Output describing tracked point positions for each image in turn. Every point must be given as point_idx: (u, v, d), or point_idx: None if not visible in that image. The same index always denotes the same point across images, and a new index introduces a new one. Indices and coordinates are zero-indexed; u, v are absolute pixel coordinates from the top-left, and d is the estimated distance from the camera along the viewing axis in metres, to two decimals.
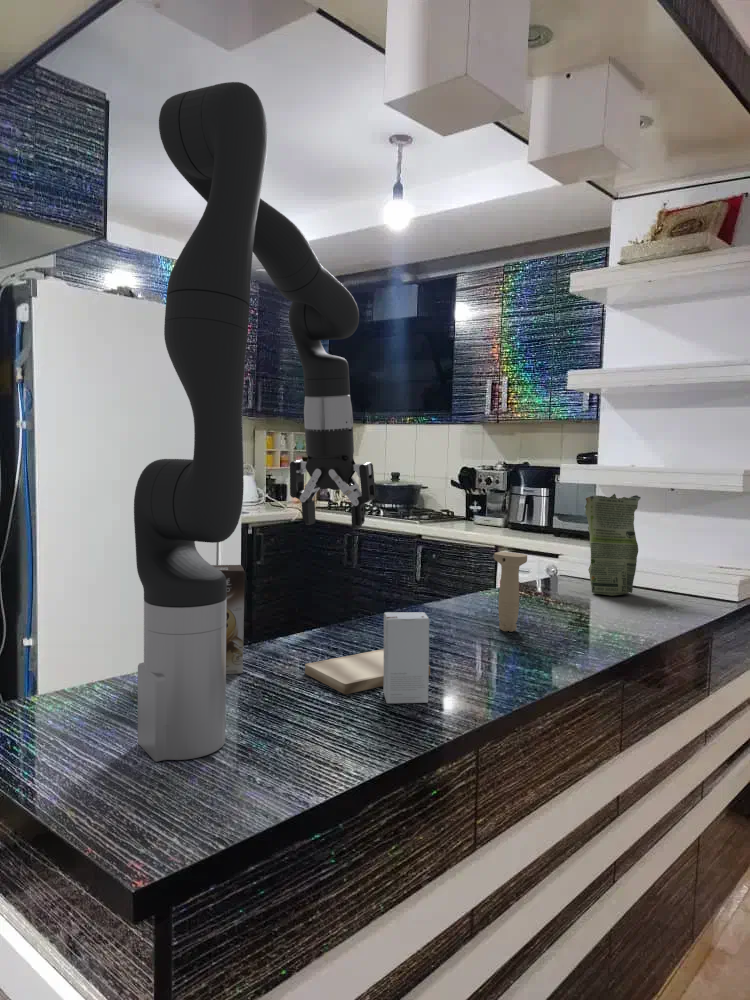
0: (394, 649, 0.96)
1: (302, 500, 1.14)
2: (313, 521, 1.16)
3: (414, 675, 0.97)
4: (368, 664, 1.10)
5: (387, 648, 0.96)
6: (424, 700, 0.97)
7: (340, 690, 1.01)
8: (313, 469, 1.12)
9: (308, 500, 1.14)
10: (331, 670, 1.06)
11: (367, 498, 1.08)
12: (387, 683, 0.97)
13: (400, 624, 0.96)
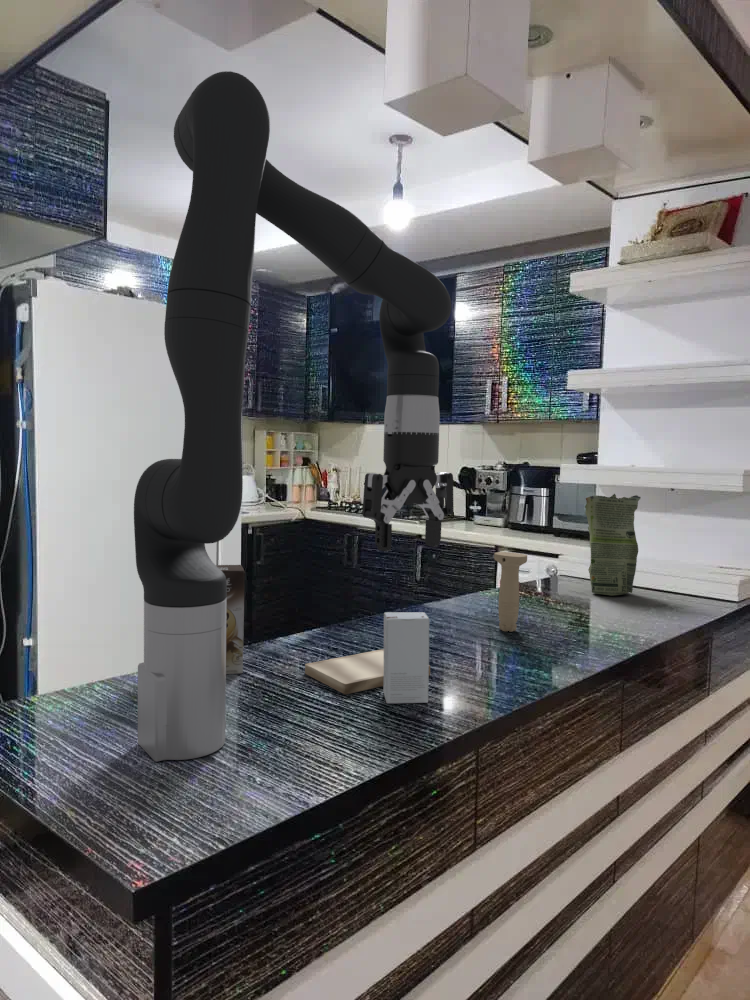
0: (394, 649, 0.96)
1: None
2: (432, 544, 0.99)
3: (414, 675, 0.97)
4: (368, 664, 1.10)
5: (387, 648, 0.96)
6: (424, 700, 0.97)
7: (340, 690, 1.01)
8: None
9: (429, 517, 1.00)
10: (331, 670, 1.06)
11: None
12: (387, 683, 0.97)
13: (400, 624, 0.96)
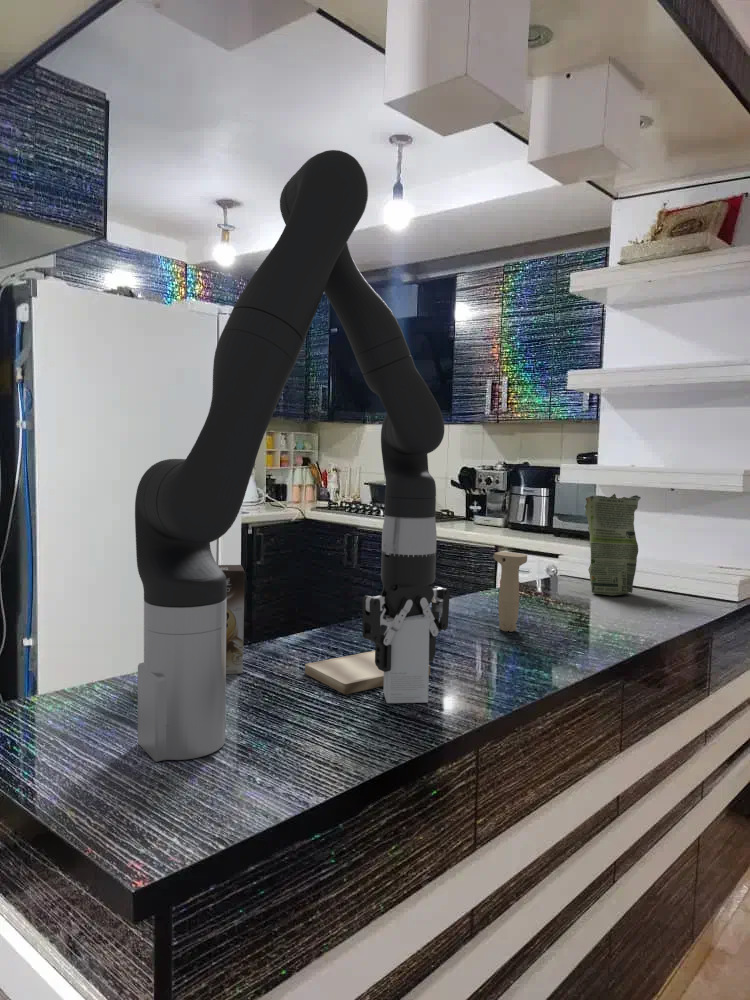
0: (395, 649, 0.96)
1: None
2: None
3: (414, 675, 0.97)
4: (368, 664, 1.10)
5: None
6: (424, 700, 0.97)
7: (340, 690, 1.01)
8: None
9: None
10: (331, 670, 1.06)
11: None
12: (387, 683, 0.97)
13: None
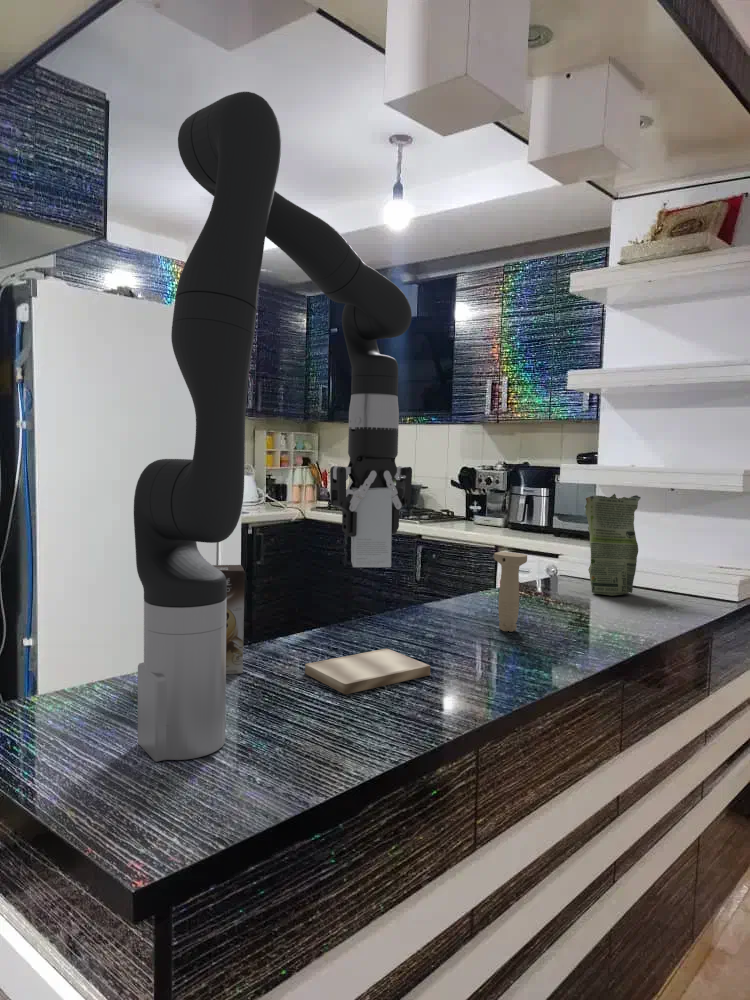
0: (360, 516, 1.05)
1: None
2: None
3: (378, 541, 1.06)
4: (368, 664, 1.10)
5: None
6: (387, 565, 1.06)
7: (340, 690, 1.01)
8: None
9: None
10: (331, 670, 1.06)
11: None
12: (353, 548, 1.06)
13: None
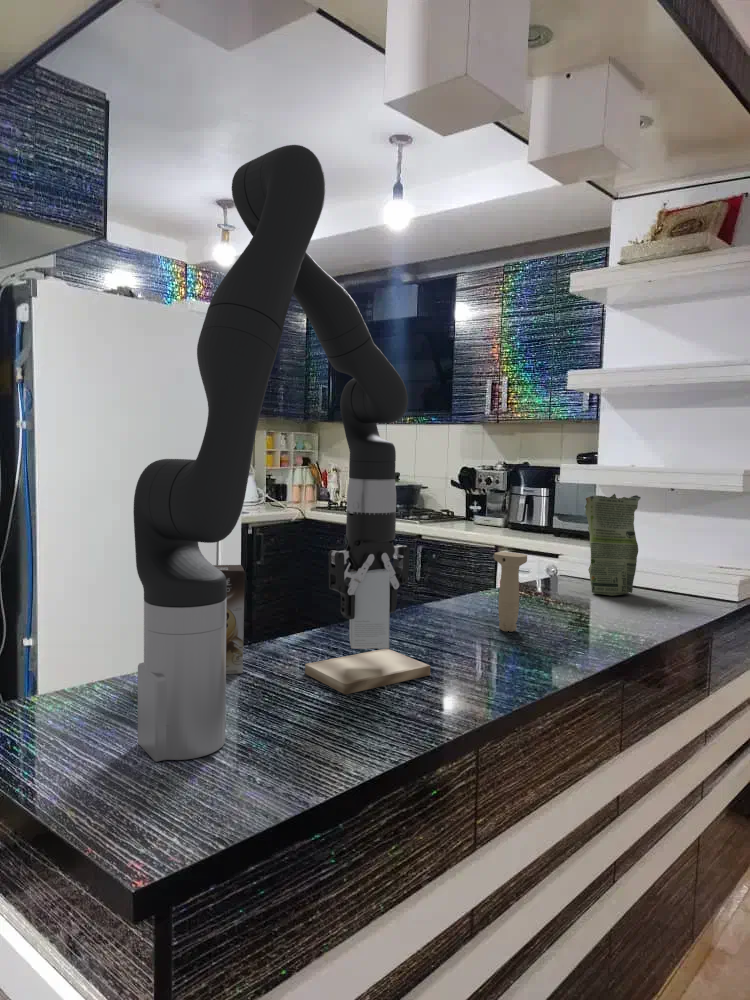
0: (358, 599, 1.06)
1: None
2: (389, 611, 1.11)
3: (376, 623, 1.07)
4: (368, 664, 1.10)
5: None
6: (385, 646, 1.08)
7: (340, 690, 1.01)
8: None
9: None
10: (331, 670, 1.06)
11: None
12: (351, 630, 1.07)
13: None
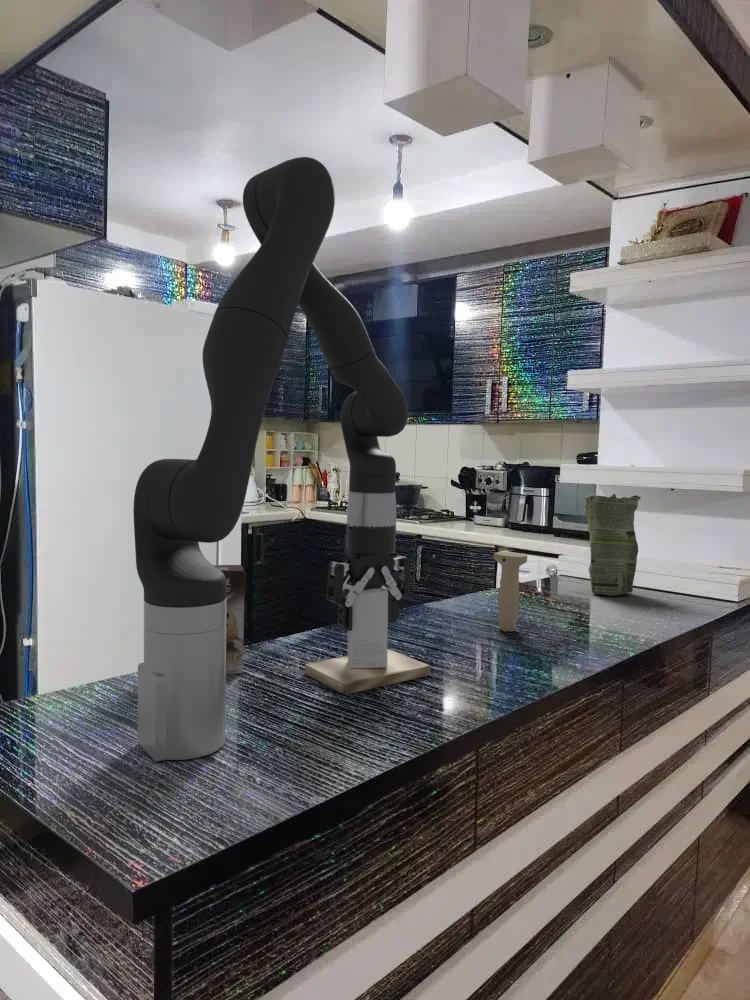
0: (356, 619, 1.06)
1: None
2: (391, 622, 1.11)
3: (374, 642, 1.07)
4: None
5: None
6: (383, 665, 1.07)
7: (340, 690, 1.01)
8: None
9: (388, 597, 1.11)
10: (331, 670, 1.06)
11: None
12: (350, 650, 1.07)
13: (361, 596, 1.06)
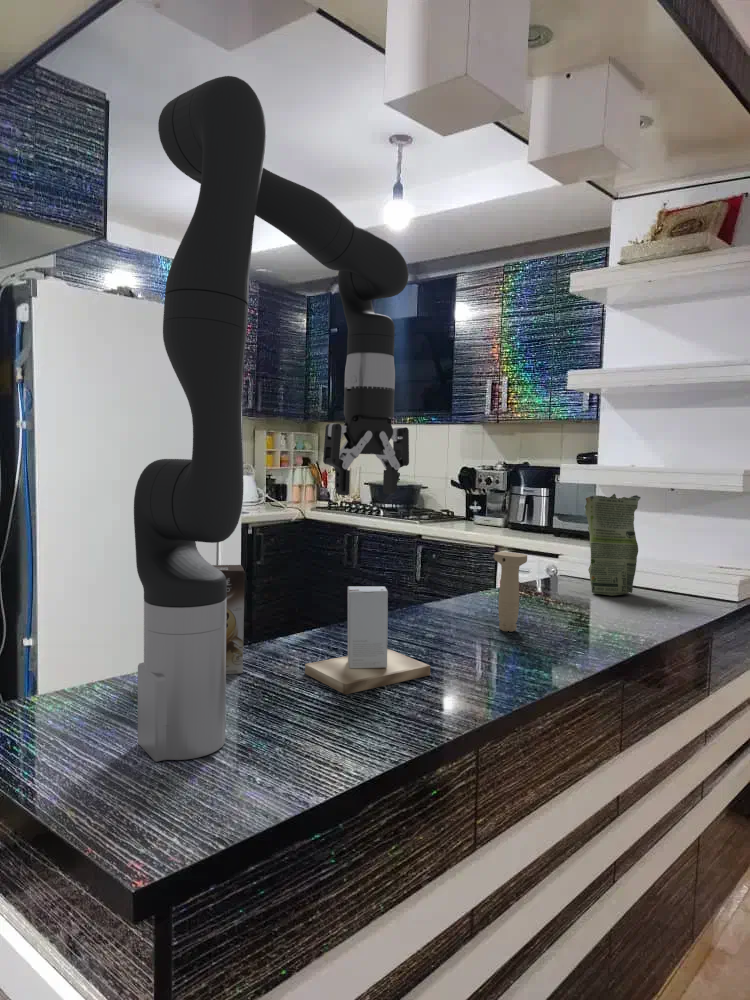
0: (356, 619, 1.06)
1: None
2: (389, 492, 1.09)
3: (374, 642, 1.07)
4: None
5: (349, 618, 1.06)
6: (383, 665, 1.07)
7: (340, 690, 1.01)
8: None
9: (387, 468, 1.09)
10: (331, 670, 1.06)
11: None
12: (350, 650, 1.07)
13: (361, 596, 1.06)
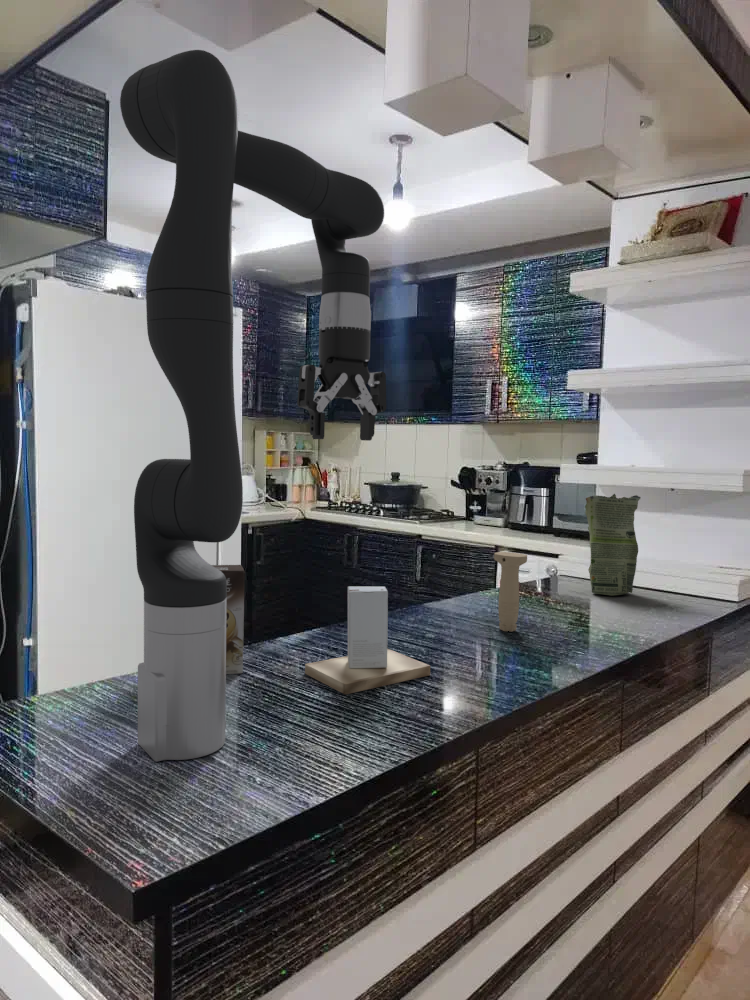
0: (356, 619, 1.06)
1: None
2: (366, 438, 1.06)
3: (374, 642, 1.07)
4: None
5: (349, 618, 1.06)
6: (383, 665, 1.07)
7: (340, 690, 1.01)
8: None
9: (363, 413, 1.07)
10: (331, 670, 1.06)
11: None
12: (350, 650, 1.07)
13: (361, 596, 1.06)
